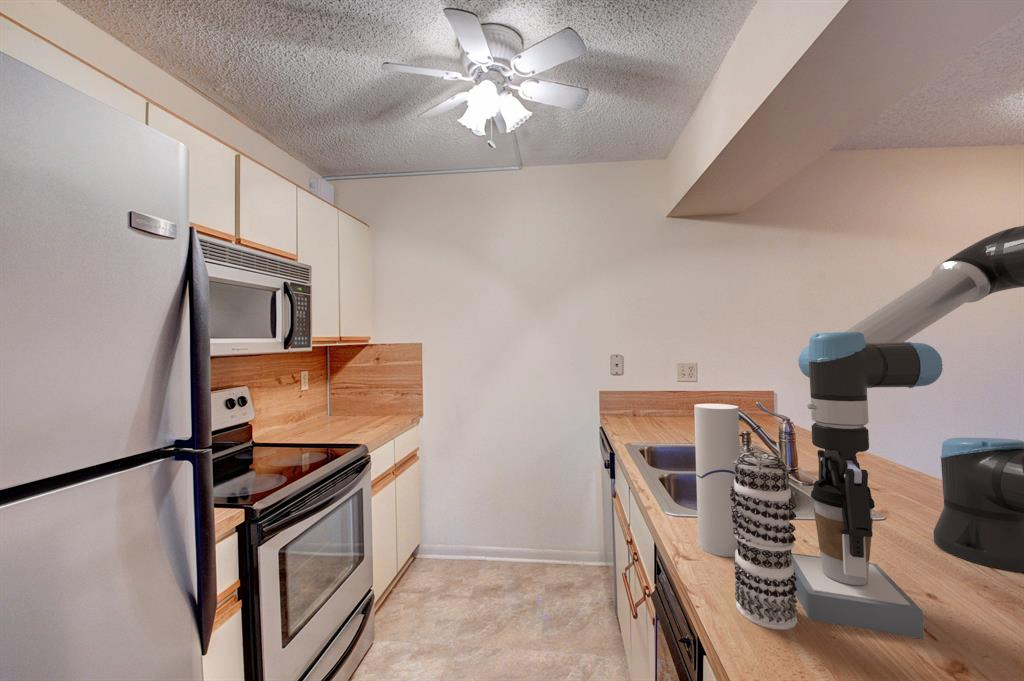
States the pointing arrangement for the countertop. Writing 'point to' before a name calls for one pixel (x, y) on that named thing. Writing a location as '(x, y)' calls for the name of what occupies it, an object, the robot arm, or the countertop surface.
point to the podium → (856, 600)
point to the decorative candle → (764, 541)
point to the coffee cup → (834, 531)
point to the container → (716, 475)
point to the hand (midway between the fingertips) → (844, 562)
